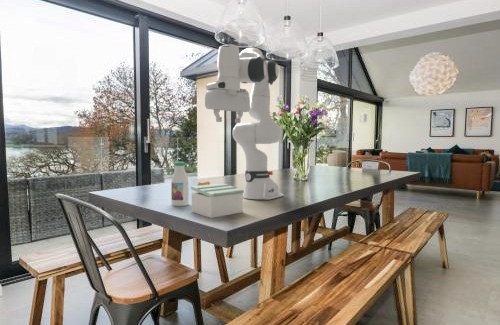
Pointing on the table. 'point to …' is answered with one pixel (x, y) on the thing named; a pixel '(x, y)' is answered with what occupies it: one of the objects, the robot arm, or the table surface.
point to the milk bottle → (179, 186)
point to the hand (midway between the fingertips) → (228, 122)
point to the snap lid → (216, 189)
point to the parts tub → (217, 204)
